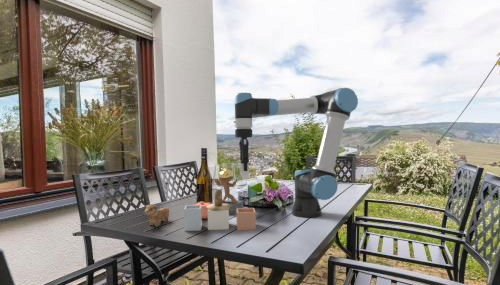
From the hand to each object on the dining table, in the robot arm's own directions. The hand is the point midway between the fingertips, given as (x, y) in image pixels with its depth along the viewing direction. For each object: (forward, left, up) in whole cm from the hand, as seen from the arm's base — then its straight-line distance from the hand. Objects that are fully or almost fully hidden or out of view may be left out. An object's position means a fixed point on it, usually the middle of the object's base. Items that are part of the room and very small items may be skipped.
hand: (244, 176), depth 133 cm
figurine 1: (+41, -13, -23) cm, 48 cm away
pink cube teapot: (+20, -20, -23) cm, 36 cm away
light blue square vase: (+23, -1, -23) cm, 32 cm away
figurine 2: (+7, -28, -23) cm, 37 cm away
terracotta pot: (0, 0, -23) cm, 23 cm away
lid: (+12, -2, -14) cm, 18 cm away
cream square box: (+12, -2, -23) cm, 26 cm away
